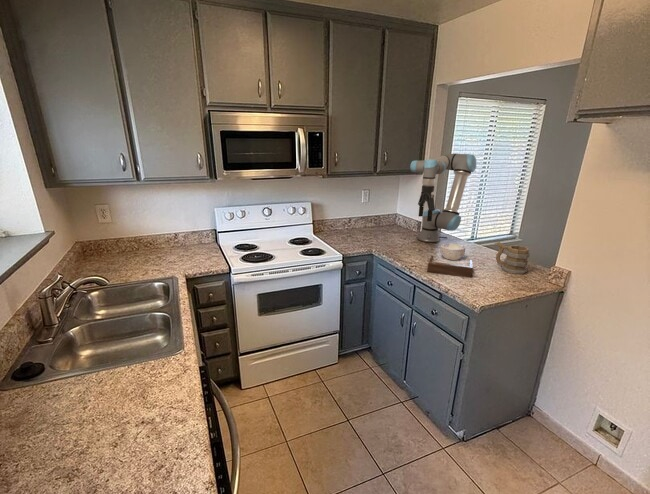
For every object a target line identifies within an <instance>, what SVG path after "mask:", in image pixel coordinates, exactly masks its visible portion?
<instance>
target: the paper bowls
mask: <svg viewBox="0 0 650 494" xmlns="http://www.w3.org/2000/svg"><path fill="white" fill-rule="evenodd" d="M439 253H440V254H441V255H442V256H443V258H445V259H447V260H451V261H458V260H460V259H461V258H462V257H463V256H465V254H466V246H465V245H463V244H459V243H443V244H441V245H440V249H439Z"/></svg>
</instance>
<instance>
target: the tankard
mask: <svg viewBox="0 0 650 494" xmlns="http://www.w3.org/2000/svg"><path fill="white" fill-rule="evenodd" d="M494 246H495V247H497V246H498V247H499V249H498V250H499V251H498V252H497V253H496V256H495V260H496V263H497V264H498V265H502V266H501V269H502V270H503V271H504V272H506V273H509V274H514V275H525V274H526V273H528V270H529V269H528V268H527V266H528V264H529V261H528V258H529V257H530V254H531V253H530V248H528V247H527V246H524V245H517V244H513V245H509V246H507V245H504V244H503V243H501V242H500V241H497V242H495V243H494ZM504 250H506V251H505V255H506V256H505V258H504V260H502V259H501V256H502V255H503V253H504Z"/></svg>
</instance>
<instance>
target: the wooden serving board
mask: <svg viewBox="0 0 650 494" xmlns="http://www.w3.org/2000/svg"><path fill="white" fill-rule="evenodd" d="M434 256H435V255H430V258H429V261H428V263H427V273H431V274H432V273H433V274H437V275H439V274H440V275H447V276H454V277H455V276H456V277H462V278H470V279H472V275H473V269H474V266H473V259H469V261H468V265H463V264H455V263H448V262H447V263H445V262H438V261H434V258H435V257H434Z"/></svg>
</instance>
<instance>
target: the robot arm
mask: <svg viewBox="0 0 650 494" xmlns="http://www.w3.org/2000/svg"><path fill="white" fill-rule="evenodd" d="M477 163H478V162H477V157H476V155H475V154H470V153H449V154H444V155H443V154H442V155H440V156H439V157H434V158H427V159H423V160H419V159H418V160H412V161H411V163H410V165H409V167H410V168H409V169H410V172H412V173H418V174H419V173H420V174H422V180H421V184H422V185H421V192H420V196H419V199H418V203H417V205H418V217H422V224H421V231H420V232H419V235H418V238H417V239H418V241H420V242H422V243H428V244H431V243H432V244H433V243H438V242H439V241H440V239H448V237H447V236H439V235H440V234H439V229H440V230H445V231H448V232H449V231H451V232H453V231H456V230H457V229H458V228H459V226H460V224H461V222H462V216H461V215H460V214H461V213H460V210H459V209H460V206H461V202H462V198H463V195H464V191H465V188H466V184H467V181H468V177H470V176H471V175H472V173H475V172H476V169H477ZM446 171H453V174H454V178H453V181H452V185H451V189H450V192H449V196H448V199H447V201H446V202H447V203H446V206H445V208H443V210H442V211H441V210H440V209H436V208H435V195H434V194H432V193H434V192H435V184H436V175H441V174H444V173H445V172H446ZM425 204H427V208H428V209H426V210H424V208H425V207H424V206H425Z"/></svg>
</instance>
